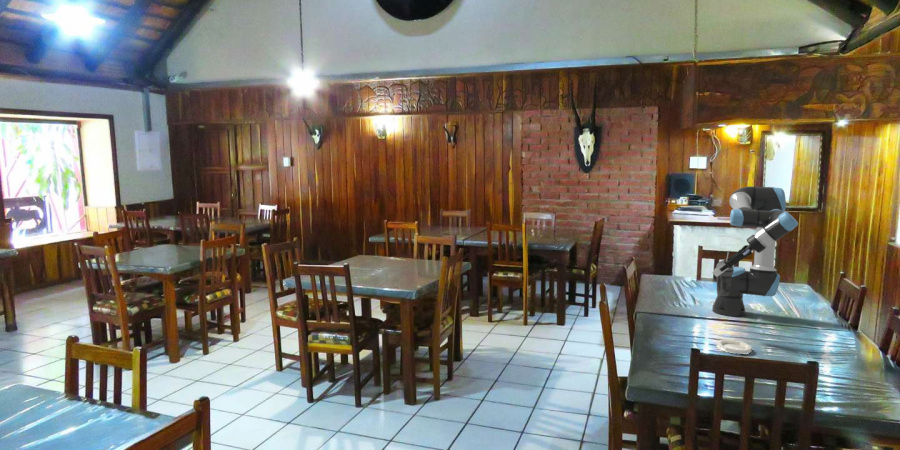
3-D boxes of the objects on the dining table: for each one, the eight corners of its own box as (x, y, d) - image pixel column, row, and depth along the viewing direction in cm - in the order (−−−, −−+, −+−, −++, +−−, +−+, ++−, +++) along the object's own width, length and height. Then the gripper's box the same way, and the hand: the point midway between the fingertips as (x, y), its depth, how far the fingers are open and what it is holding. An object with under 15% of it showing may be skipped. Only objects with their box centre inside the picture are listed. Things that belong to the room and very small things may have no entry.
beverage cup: (710, 292, 250) (713, 249, 247) (725, 292, 251) (729, 249, 248) (719, 297, 243) (722, 252, 240) (735, 296, 244) (738, 252, 241)
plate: (744, 344, 237) (744, 340, 237) (756, 356, 225) (757, 351, 224) (712, 343, 239) (712, 338, 239) (722, 354, 226) (723, 349, 226)
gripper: (765, 251, 227) (719, 284, 238) (767, 243, 244) (724, 275, 255) (752, 237, 229) (706, 270, 240) (755, 230, 246) (712, 262, 257)
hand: (715, 272), depth 247 cm, fingers closed on beverage cup, 7 cm apart
